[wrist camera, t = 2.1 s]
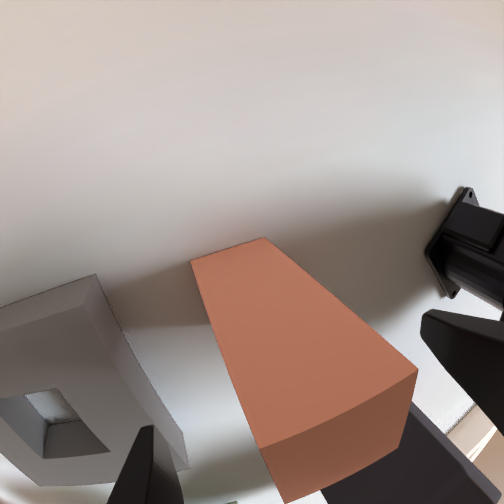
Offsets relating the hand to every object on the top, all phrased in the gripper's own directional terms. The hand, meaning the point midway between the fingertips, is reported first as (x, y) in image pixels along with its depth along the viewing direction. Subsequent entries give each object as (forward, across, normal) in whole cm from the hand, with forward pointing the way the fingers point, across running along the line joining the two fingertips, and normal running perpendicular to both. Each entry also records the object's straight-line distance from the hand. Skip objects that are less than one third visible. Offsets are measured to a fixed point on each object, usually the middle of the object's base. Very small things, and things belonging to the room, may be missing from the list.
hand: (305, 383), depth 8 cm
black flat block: (+8, -6, +18) cm, 21 cm away
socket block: (+7, +12, +3) cm, 15 cm away
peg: (+7, 0, 0) cm, 7 cm away
